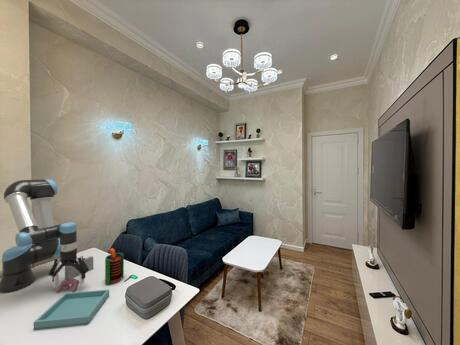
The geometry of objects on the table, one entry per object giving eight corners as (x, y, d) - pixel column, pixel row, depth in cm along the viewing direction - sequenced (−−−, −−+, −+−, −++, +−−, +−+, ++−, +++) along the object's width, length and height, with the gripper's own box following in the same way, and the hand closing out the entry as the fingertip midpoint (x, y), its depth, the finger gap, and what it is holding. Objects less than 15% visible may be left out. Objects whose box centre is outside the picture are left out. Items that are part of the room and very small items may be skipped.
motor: (113, 286, 115) (113, 253, 115) (101, 284, 117) (100, 252, 117) (125, 277, 125) (125, 247, 125) (114, 275, 127) (114, 245, 127)
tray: (33, 329, 84) (33, 322, 84) (65, 299, 104) (65, 292, 104) (88, 324, 87) (88, 316, 87) (109, 295, 107) (109, 289, 107)
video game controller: (78, 291, 112) (81, 278, 115) (72, 292, 108) (76, 278, 111) (60, 292, 112) (65, 278, 115) (54, 293, 108) (59, 279, 111)
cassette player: (91, 268, 136) (90, 254, 136) (93, 269, 135) (93, 255, 135) (65, 280, 122) (64, 264, 121) (67, 281, 121) (67, 265, 120)
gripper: (39, 254, 106) (39, 291, 106) (88, 250, 110) (88, 287, 110) (49, 248, 113) (50, 283, 114) (95, 245, 117) (95, 279, 117)
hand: (69, 285), depth 112 cm, fingers open, 13 cm apart
